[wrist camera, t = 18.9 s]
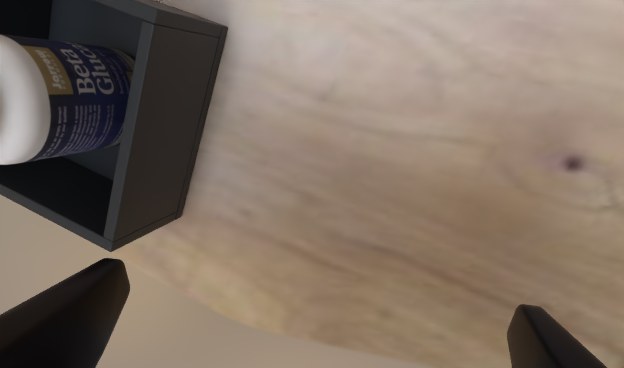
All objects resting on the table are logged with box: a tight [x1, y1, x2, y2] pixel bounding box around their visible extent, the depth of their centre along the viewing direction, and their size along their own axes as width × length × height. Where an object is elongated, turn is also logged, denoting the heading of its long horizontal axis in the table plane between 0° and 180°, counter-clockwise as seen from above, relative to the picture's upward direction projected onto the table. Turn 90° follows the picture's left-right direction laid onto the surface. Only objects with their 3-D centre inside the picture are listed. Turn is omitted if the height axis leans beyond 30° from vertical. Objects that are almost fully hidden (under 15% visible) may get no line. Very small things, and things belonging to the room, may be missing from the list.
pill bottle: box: [0, 34, 135, 165], centre depth 19 cm, size 5×5×10 cm
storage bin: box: [0, 0, 228, 252], centre depth 21 cm, size 11×11×6 cm
